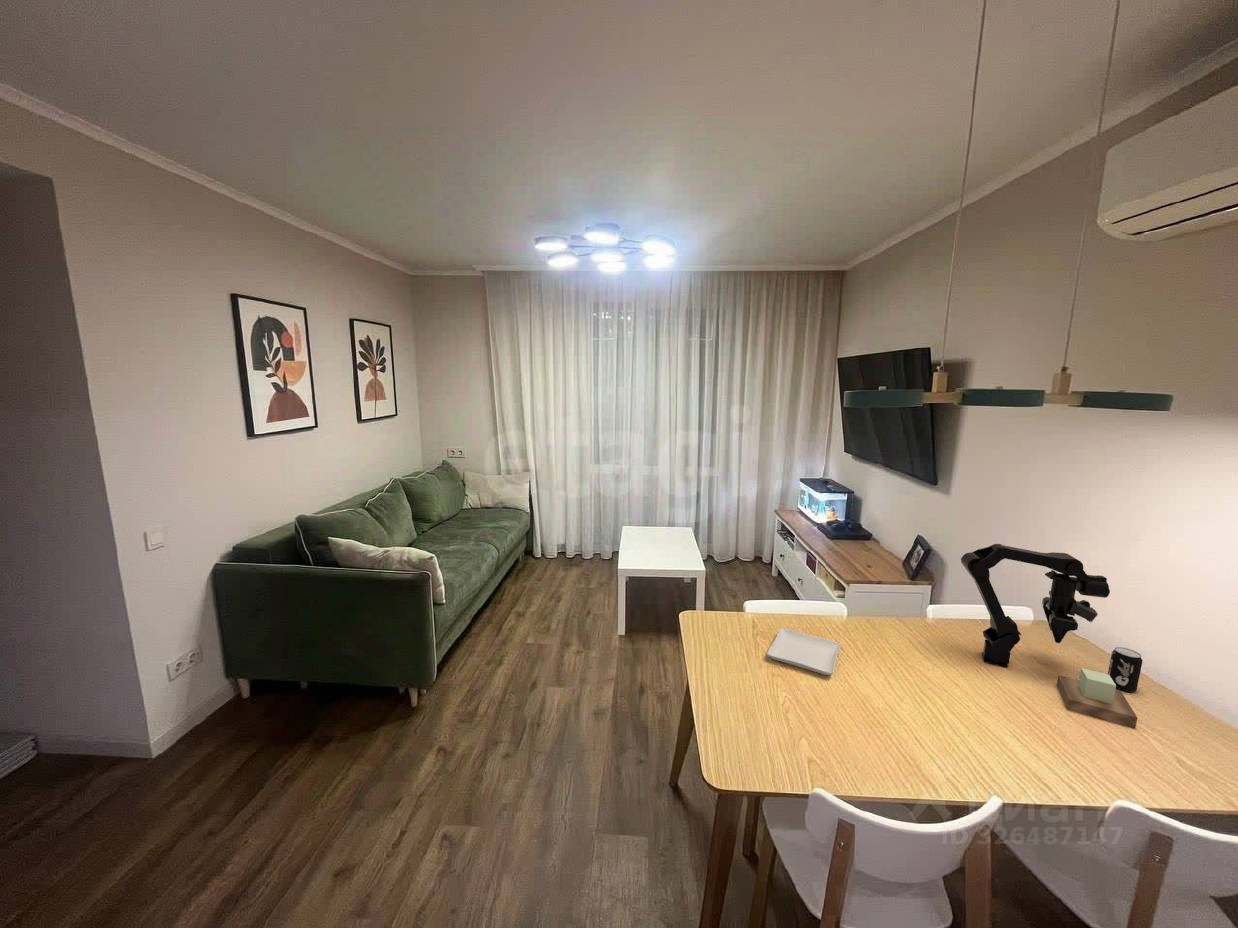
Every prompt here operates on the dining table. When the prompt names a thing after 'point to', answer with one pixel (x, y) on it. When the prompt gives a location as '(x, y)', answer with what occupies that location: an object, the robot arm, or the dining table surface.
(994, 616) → the robot arm
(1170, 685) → the dining table surface
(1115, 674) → the beverage can
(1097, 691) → the sage cube
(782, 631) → the salad plate
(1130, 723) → the walnut box
